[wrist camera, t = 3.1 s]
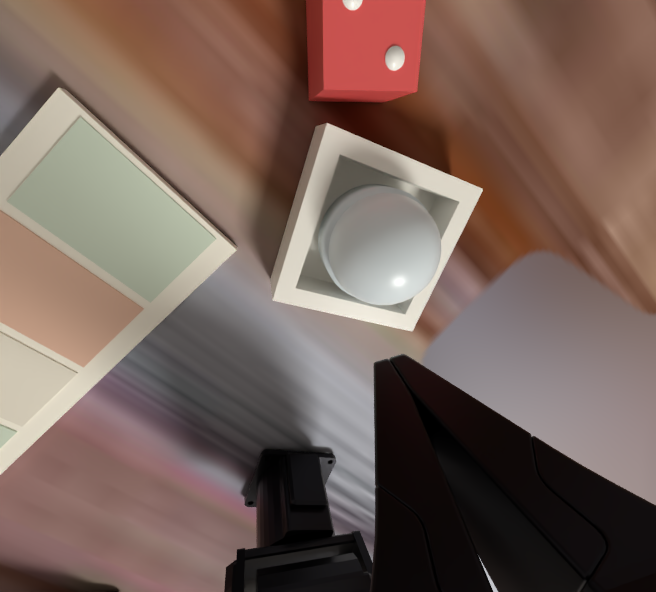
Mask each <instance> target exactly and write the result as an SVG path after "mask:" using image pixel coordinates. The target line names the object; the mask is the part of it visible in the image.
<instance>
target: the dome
mask: <svg viewBox="0 0 656 592" xmlns="http://www.w3.org/2000/svg"><path fill="white" fill-rule="evenodd" d="M318 249H319V254H320V257H321V260H322V262H323V264H324V266H325V268H326V269H327V271H328V273H329V275H330V276H331V278H332V280H333V281H334V282H335V284H336V285H337V286H338V287H339V288H340V289H341V290H343V291H344V292H346V293H347V294H349V295H351V296H353V297H355V298H357V299H359V300H361V301H364V302H367V303H370V304H375V305H393V304H398V303H401V302H404V301H406V300H408V299H411V298H412V297H414V296H416V295H417V294H418V293H420V292H421V291H422V290H423V289H424V288H425V287H426V286H427V285H428V284H429V282H430V281H431V280H432V278H433V276H434V275H435V273H436V271H437V268H438V265H439V262H440V257H441V238H440V233H439V230H438V227H437V225H436V223H435V221H434V219H433V218H432V216H431V215H430V214H429V212H428V211H427V209H426V208H425V207H424V205H423V204H422V203H421V202H420V201H419V200H418V199H417V198H416V197H414V196H413V195H411V194H409V193H407V192H405V191H402V190H399V189H396V188H393V187H390V186H387V185H382V184H366V185H361V186H358V187H355V188H353V189H350V190H348V191H347V192H345V193H344V194H342V195H341V196H340V197H338V198H337V199H336V200H335V201H334V202H333V203H332V205H331V206H330V207H329V209H328V210H327V212H326V213H325V215H324V217H323V219H322V222H321V225H320V228H319V234H318Z"/></svg>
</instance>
